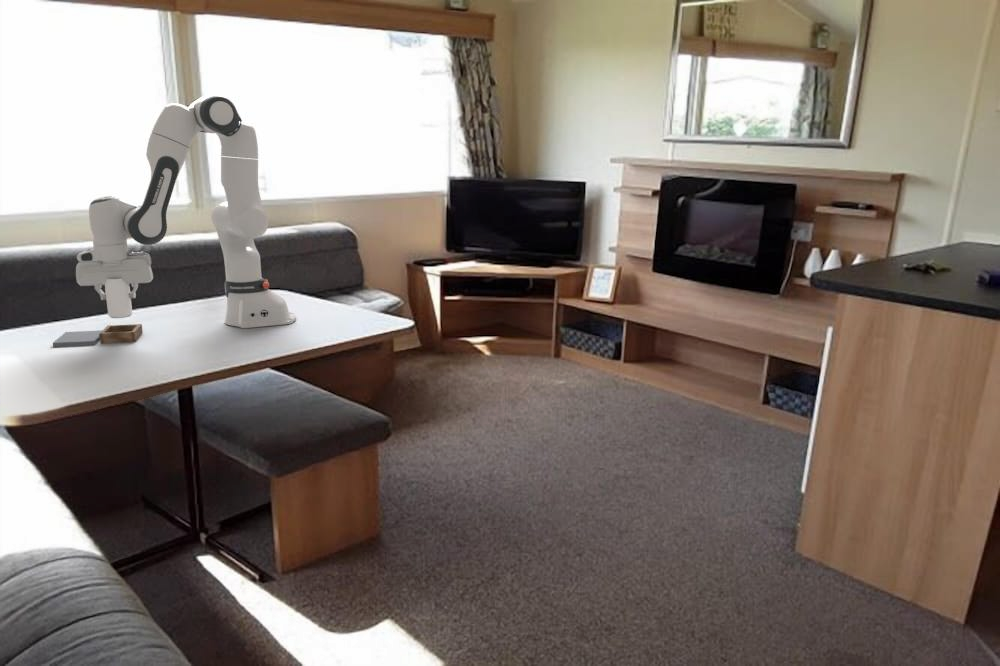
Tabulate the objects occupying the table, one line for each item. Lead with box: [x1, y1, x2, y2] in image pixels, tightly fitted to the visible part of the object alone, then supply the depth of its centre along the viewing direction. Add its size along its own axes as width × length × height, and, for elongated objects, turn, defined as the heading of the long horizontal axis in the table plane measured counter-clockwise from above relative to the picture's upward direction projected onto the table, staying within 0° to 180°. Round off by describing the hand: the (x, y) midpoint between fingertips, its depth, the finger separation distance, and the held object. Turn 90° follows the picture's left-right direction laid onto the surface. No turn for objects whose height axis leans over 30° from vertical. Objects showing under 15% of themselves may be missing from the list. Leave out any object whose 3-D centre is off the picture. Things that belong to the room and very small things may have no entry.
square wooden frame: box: [99, 323, 144, 344], centre depth 222 cm, size 10×10×3 cm
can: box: [104, 278, 133, 319], centre depth 219 cm, size 6×6×12 cm
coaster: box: [52, 329, 103, 348], centre depth 220 cm, size 11×12×1 cm
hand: (118, 298), depth 220 cm, fingers closed on can, 6 cm apart
